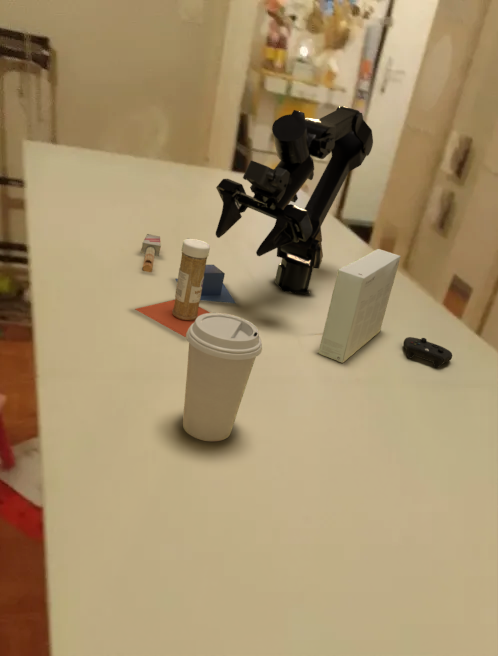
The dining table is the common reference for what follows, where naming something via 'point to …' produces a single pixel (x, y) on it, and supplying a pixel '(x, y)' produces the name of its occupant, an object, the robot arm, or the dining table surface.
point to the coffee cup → (217, 373)
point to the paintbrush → (150, 250)
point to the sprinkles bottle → (190, 279)
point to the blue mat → (218, 296)
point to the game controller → (427, 351)
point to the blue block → (212, 280)
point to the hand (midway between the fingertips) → (236, 245)
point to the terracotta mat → (169, 316)
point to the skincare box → (358, 304)
